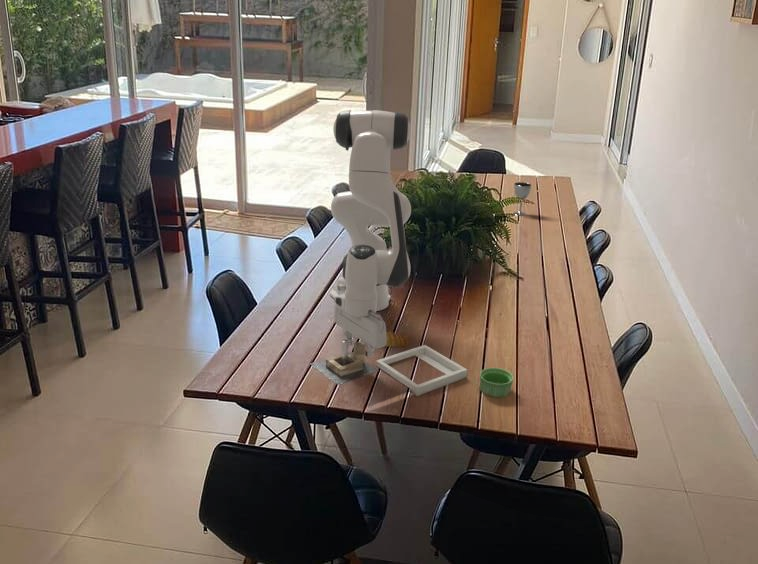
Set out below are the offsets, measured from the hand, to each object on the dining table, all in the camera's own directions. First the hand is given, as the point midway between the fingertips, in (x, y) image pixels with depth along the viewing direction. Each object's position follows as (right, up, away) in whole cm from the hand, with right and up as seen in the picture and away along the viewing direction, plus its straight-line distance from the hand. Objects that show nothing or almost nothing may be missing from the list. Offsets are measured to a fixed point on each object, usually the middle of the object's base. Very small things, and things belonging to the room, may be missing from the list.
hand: (359, 350), depth 198 cm
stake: (-4, -6, -1) cm, 7 cm away
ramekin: (+37, -10, -7) cm, 39 cm away
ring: (-3, -4, 0) cm, 5 cm away
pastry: (+9, 0, +16) cm, 18 cm away
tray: (+17, -6, -1) cm, 18 cm away
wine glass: (+75, +53, +154) cm, 179 cm away
